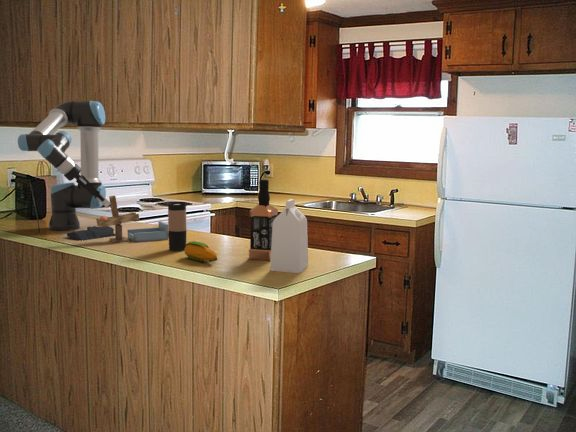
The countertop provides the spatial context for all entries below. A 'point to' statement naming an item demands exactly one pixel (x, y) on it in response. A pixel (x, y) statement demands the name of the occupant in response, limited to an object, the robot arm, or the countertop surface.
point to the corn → (199, 251)
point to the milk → (289, 240)
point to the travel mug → (177, 226)
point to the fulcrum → (118, 235)
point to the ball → (103, 218)
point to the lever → (116, 216)
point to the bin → (149, 233)
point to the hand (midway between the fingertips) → (108, 205)
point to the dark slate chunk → (92, 233)
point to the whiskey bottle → (262, 225)
